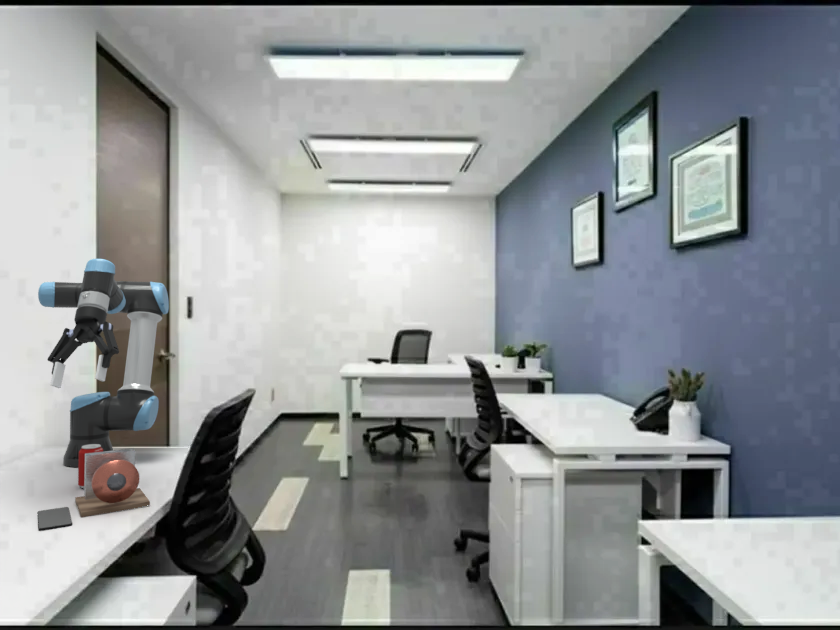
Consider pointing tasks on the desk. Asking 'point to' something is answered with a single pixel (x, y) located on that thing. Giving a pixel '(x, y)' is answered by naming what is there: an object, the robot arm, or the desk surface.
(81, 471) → the beverage can
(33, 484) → the desk surface
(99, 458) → the eye plate
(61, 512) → the smartphone
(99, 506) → the walnut board
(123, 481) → the copper knob thumbscrew
